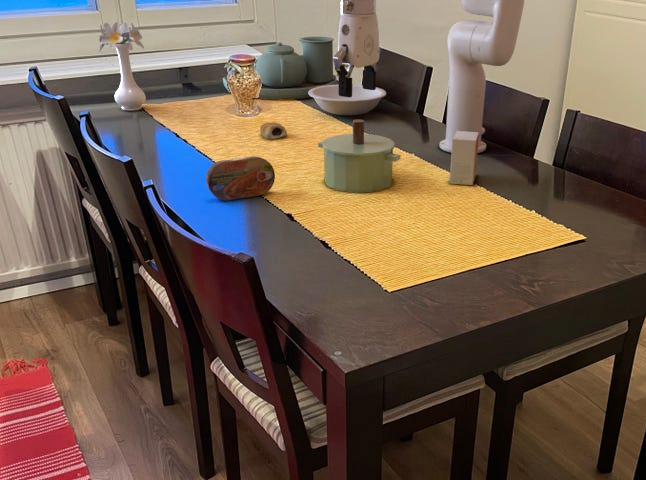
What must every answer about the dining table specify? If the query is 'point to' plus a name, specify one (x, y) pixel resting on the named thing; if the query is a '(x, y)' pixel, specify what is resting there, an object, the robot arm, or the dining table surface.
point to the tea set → (295, 69)
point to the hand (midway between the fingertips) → (357, 92)
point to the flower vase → (124, 63)
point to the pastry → (272, 130)
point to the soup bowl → (346, 99)
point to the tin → (240, 178)
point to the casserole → (358, 171)
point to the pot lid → (358, 142)
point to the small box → (464, 157)
